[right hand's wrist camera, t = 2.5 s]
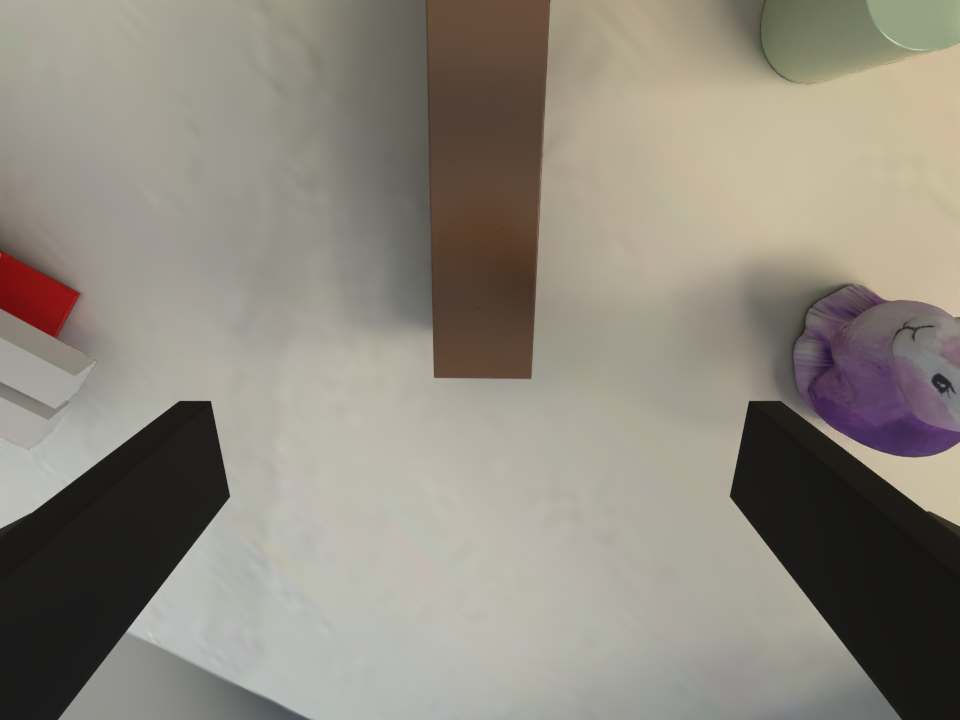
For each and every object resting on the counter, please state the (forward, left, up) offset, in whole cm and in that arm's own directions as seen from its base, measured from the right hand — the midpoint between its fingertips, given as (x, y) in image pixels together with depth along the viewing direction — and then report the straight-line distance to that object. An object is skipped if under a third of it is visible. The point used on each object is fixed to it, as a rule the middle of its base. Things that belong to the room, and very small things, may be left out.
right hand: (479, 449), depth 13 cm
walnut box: (0, -9, -21) cm, 23 cm away
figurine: (-24, +4, -21) cm, 32 cm away
